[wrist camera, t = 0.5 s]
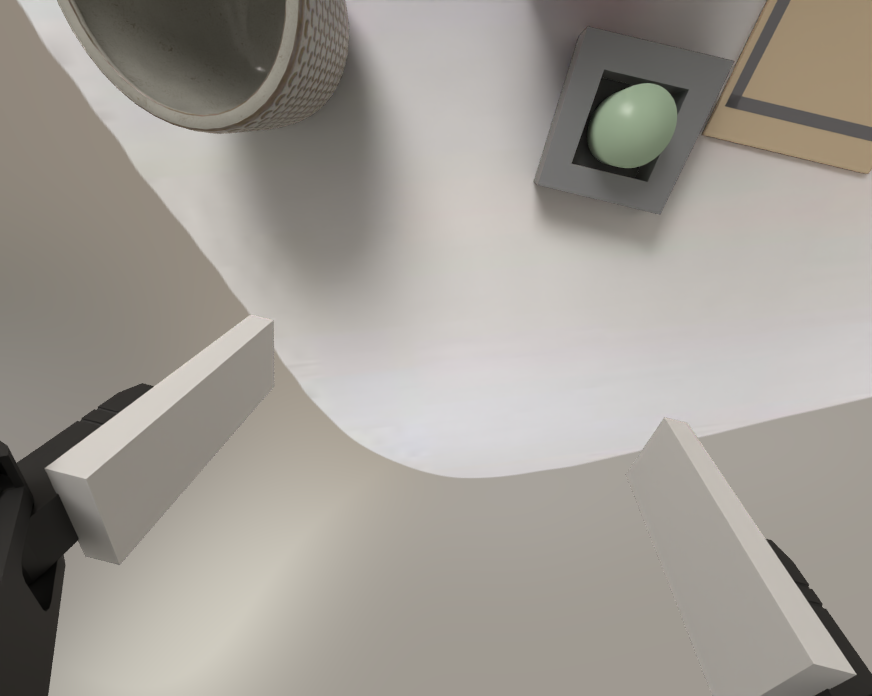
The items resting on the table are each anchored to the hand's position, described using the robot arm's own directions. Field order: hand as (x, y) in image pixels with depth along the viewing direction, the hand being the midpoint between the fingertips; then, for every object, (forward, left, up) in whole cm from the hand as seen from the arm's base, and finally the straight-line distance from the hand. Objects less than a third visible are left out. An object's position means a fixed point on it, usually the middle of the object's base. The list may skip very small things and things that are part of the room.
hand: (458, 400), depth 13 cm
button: (-10, +8, -24) cm, 28 cm away
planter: (-11, -19, -26) cm, 34 cm away
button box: (-10, +8, -26) cm, 29 cm away
